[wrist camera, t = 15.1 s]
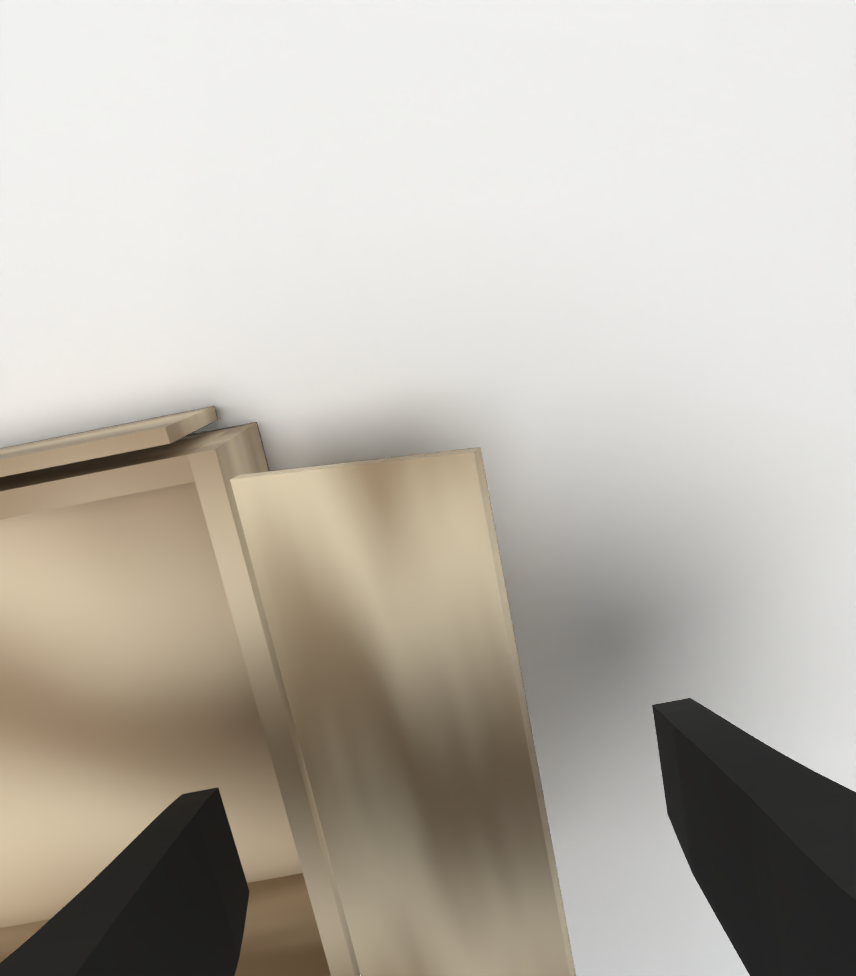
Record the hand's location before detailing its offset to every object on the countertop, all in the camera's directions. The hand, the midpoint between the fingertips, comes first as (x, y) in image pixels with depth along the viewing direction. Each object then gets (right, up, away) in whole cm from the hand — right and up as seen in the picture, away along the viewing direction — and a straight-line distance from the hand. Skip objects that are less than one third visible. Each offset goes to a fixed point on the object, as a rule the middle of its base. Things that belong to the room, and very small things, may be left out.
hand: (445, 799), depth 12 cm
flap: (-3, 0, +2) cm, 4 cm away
